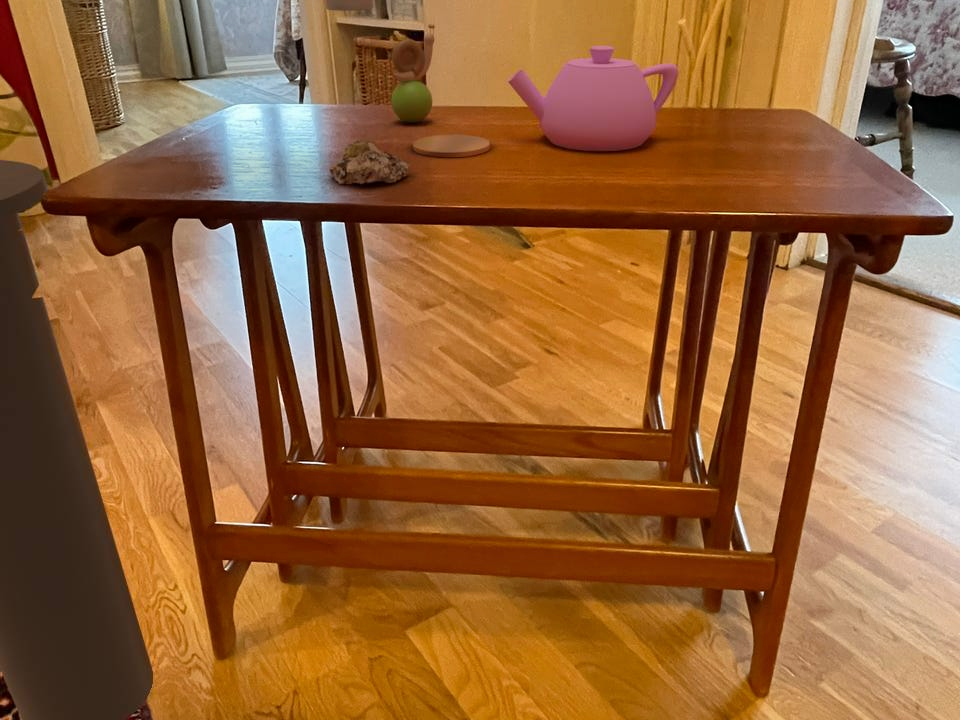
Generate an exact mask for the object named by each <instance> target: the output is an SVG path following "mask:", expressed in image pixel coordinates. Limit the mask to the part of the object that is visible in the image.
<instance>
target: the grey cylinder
mask: <svg viewBox="0 0 960 720" xmlns="http://www.w3.org/2000/svg"><path fill="white" fill-rule="evenodd" d="M324 2H325V9H326V10H329V11H339V12H340V11H342V12H348V11H349V12H351V11H352V12H353V11H367V10H372V9H374V0H324Z"/></svg>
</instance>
